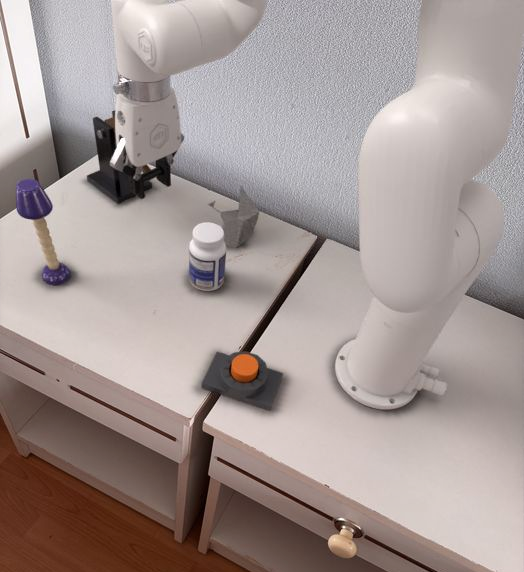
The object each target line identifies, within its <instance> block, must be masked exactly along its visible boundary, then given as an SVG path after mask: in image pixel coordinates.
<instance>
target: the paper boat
mask: <svg viewBox="0 0 524 572" xmlns="http://www.w3.org/2000/svg"><path fill="white" fill-rule="evenodd" d="M215 204H216V200H213V201H211V202H209V203H207V206H209V207H210V208H213V210H215V211H217V212H218V213H219V214H220V217H221V220H222V223H223V226H224V228H222V229H223V231H224V242H225V244H226V247H229V248H236V249H238V247H240V246H241V245H243V244H244V243H245V242H246V240H248V239H249V238H250V237H251V235H253V234H254V232H255V229H256V228H255V227H256V226H257V223H258V219H259V216H260V210H259V209H258V208H257V206H256V204H255V203H254V202H253V201H252V199H251V198H250V196H249V194H247V192H246V190H245V189H244V188H243V186H242V185H240V189H239V199H238V209H233V210H232V209H231V210H224V211H223V210H222V211H220V210H218V209H217V208H216V207H215Z"/></svg>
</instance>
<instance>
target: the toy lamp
mask: <svg viewBox="0 0 524 572" xmlns="http://www.w3.org/2000/svg"><path fill="white" fill-rule="evenodd" d="M53 207H54V205H53V202H52V200H51V199H50V197H49V196H48V194H47V192H46V191H45V189H44V187H43V186H42V185H41V183H40V182H39V181H38V180H36V179H33V178H23V179H22V180H19V181H18V182H17V184H16V185H15V208H16V212H17V214H18V215H19V216H20V217H21V218H23V219H26V220H31V221H32V224H33V227H34V228H35V234H36V236H37V237H38V243H39V244H40V249H41V251H42V253H43V257H44V259H45V260H46V265H45V266H44V267H43V269H42V271H41V278H42V281H43V282H44V283H45V284H47V285H52V286H58V285H62V284H64V283H67V282H68V280H69V279H70V278H71V271H70V269H69V267H68V266H67V265H66V264H64V263H63V262H60V261H59V259H58V255H57V253H56V251H55V250H56V248H55V245H54V244H53V239H52V237H51V235H50V229H49V227H48V224H47V220H46V219H45V218H46V217H48V216H50V214H51V213H52V211H53V209H54V208H53Z"/></svg>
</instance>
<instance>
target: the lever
mask: <svg viewBox="0 0 524 572" xmlns="http://www.w3.org/2000/svg"><path fill="white" fill-rule="evenodd" d="M104 121H105V122H106V123H107V124H109V125H110V126H112V127H113V128H114V136H115V141H116V132H115V117H113V116H112V117H109V118H107V119H105V120H104ZM162 174H164V170H163V168H162V167H161V166H158V167H156V166H155V167H154V168H150V166H149V164H147V165H144V166H143V167H142V172H141V177H142V178H143V179H144V183H145V182H147V181H151V180H154V179H156V177H158V176H160V175H162Z"/></svg>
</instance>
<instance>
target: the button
mask: <svg viewBox="0 0 524 572" xmlns="http://www.w3.org/2000/svg"><path fill="white" fill-rule="evenodd" d="M257 372H258V362H257V360H256V359H255V358H254V357H253V356H251V355H247V354H241V355H238V356H236V357H235V358H234V359H233V361H232V366H231V374H232V376H233V378H234V379H235V380H237V381H239V382H242V383H248V382H251V381H253V380H254V379H255V378H256V376H257Z"/></svg>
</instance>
